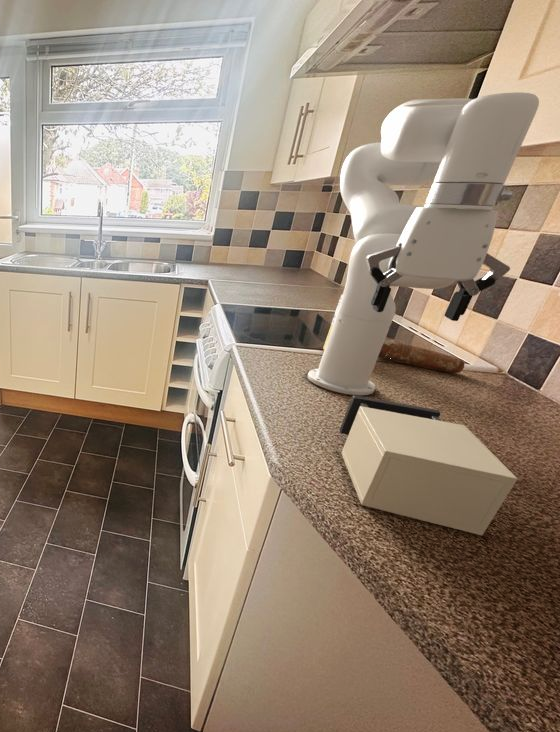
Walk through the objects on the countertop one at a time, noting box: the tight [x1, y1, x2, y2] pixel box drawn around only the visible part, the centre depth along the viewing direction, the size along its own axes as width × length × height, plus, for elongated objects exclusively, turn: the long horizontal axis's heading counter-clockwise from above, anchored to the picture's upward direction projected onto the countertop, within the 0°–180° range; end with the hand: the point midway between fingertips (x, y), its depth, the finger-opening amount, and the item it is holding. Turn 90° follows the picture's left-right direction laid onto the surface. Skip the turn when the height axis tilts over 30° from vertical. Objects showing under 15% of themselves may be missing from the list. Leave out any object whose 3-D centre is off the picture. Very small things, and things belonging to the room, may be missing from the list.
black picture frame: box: [339, 395, 442, 436], centre depth 65 cm, size 17×11×7 cm
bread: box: [378, 336, 465, 374], centre depth 105 cm, size 6×19×6 cm, turn 48°
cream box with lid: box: [340, 406, 518, 536], centre depth 57 cm, size 14×13×9 cm
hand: (413, 314), depth 67 cm, fingers open, 9 cm apart
